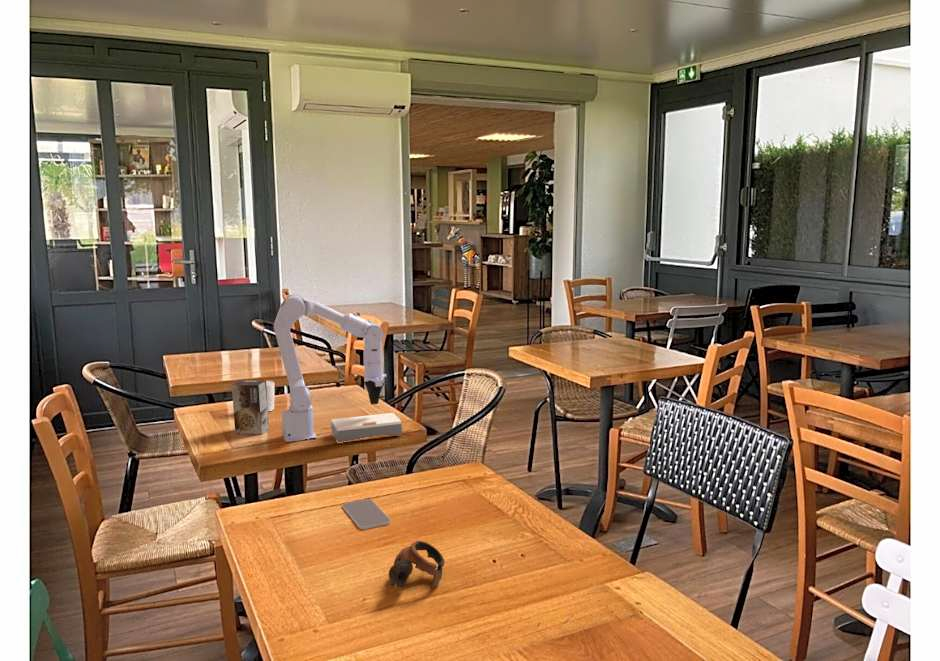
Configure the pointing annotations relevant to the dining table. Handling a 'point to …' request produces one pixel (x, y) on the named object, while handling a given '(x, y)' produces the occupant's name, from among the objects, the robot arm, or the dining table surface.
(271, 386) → the white cup
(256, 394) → the coffee box
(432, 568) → the brown looped part
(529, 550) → the dining table surface
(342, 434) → the cable duct
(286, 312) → the robot arm
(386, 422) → the duct lid
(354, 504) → the smartphone
